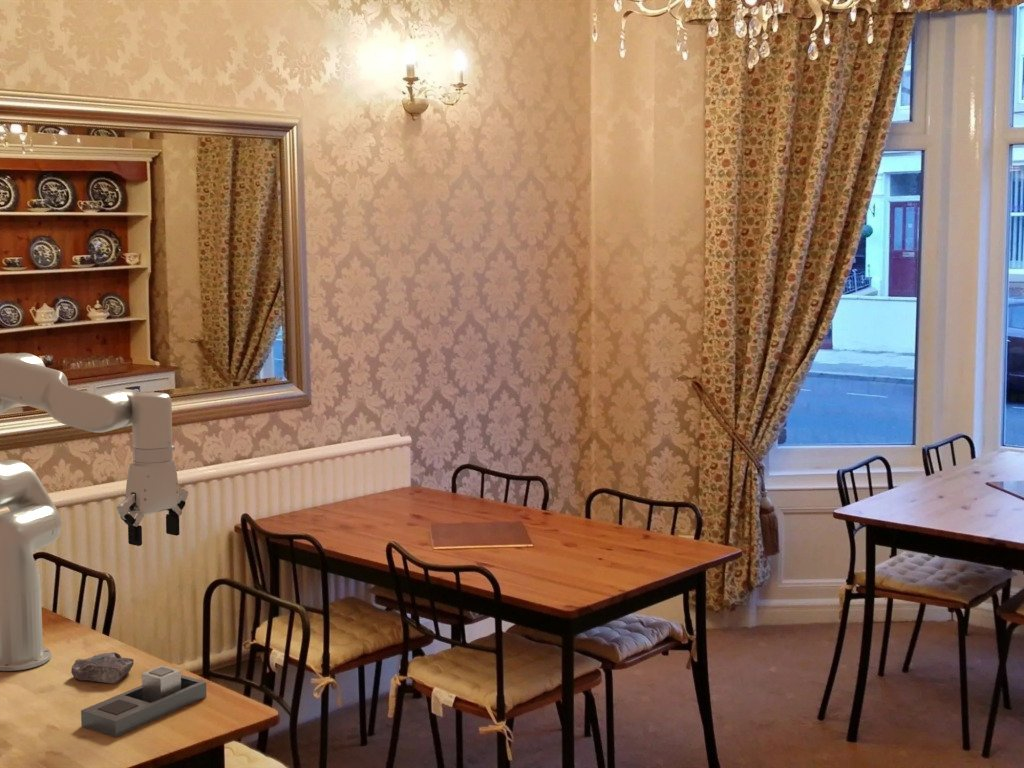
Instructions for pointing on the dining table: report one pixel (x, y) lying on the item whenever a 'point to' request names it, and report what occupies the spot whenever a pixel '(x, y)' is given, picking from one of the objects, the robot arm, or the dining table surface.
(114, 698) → the grey tray with recess
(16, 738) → the dining table surface
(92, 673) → the rock
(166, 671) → the gray cube
